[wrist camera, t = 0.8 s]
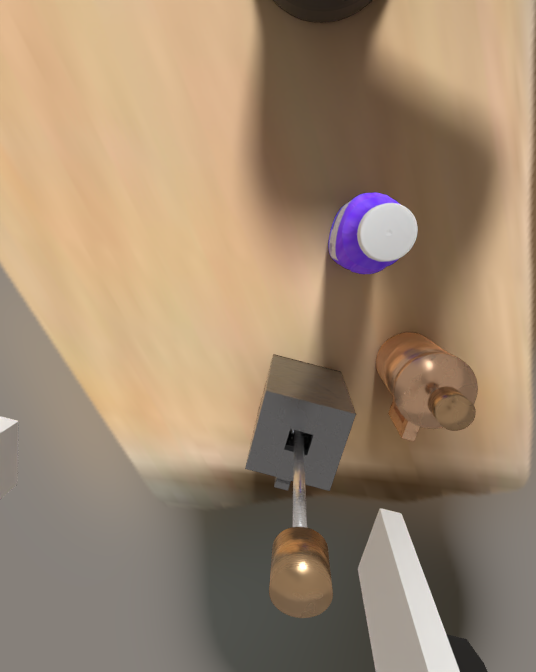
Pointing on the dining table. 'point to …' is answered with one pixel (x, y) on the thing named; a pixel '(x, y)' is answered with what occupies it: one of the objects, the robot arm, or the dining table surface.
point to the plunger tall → (300, 552)
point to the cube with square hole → (301, 422)
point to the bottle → (371, 233)
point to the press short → (426, 385)
